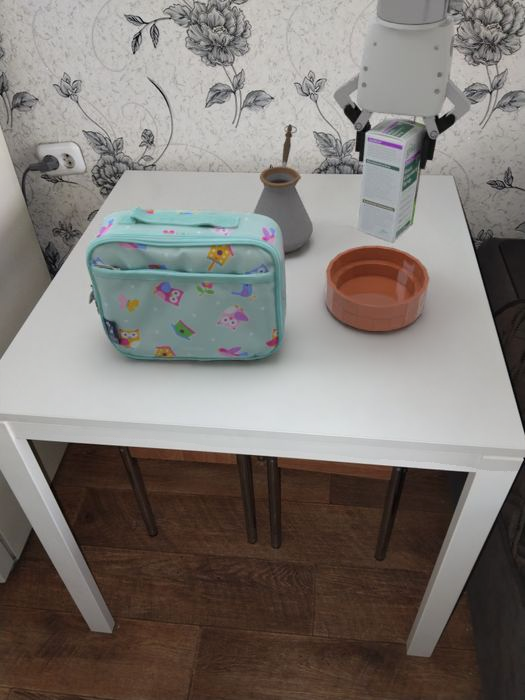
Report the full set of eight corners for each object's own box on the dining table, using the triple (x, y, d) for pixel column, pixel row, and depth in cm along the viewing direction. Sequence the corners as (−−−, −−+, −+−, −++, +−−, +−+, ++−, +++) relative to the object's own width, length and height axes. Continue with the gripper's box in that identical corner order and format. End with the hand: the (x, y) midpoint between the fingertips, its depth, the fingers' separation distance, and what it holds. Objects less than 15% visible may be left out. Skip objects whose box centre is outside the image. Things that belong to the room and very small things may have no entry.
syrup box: (393, 244, 80) (409, 141, 69) (355, 231, 82) (365, 129, 72) (413, 225, 83) (430, 124, 73) (375, 212, 85) (387, 113, 75)
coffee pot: (309, 262, 101) (311, 182, 90) (243, 258, 103) (237, 179, 92) (320, 198, 116) (322, 123, 106) (262, 195, 118) (259, 121, 107)
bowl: (428, 282, 96) (434, 254, 92) (415, 343, 86) (421, 315, 82) (337, 266, 100) (339, 239, 96) (314, 324, 90) (315, 296, 86)
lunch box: (99, 365, 85) (58, 240, 70) (116, 318, 92) (82, 195, 77) (285, 368, 83) (283, 240, 68) (287, 320, 90) (286, 195, 76)
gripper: (499, -1, 63) (465, 155, 76) (341, -8, 68) (333, 140, 80) (495, 20, 58) (460, 183, 71) (325, 10, 63) (319, 166, 75)
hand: (393, 159), depth 75 cm, fingers closed on syrup box, 7 cm apart
